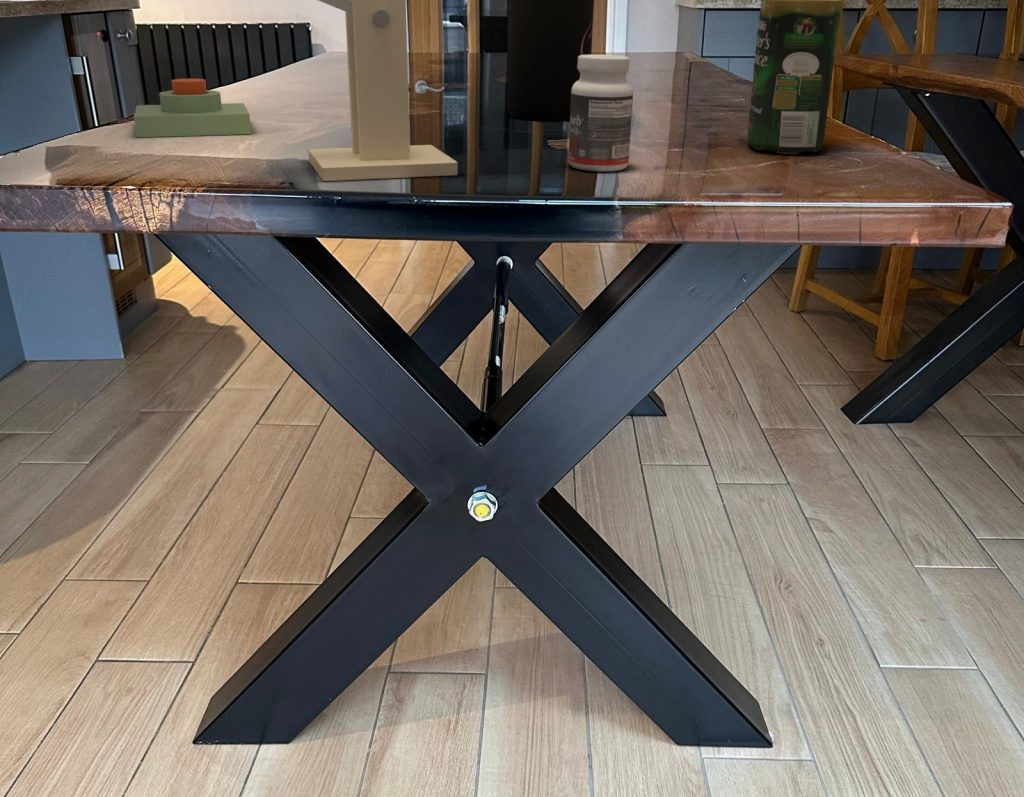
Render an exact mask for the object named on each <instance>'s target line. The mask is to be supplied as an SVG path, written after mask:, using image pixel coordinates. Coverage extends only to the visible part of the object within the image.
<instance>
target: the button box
mask: <svg viewBox="0 0 1024 797" xmlns="http://www.w3.org/2000/svg"><path fill="white" fill-rule="evenodd" d="M206 91H207V94H199V95H175V94H173V90H166V91H160V92H159V101H160V104H137V105H136V108H135V111H134V115H133V121H134V128H135V136H136V138H163V137H164V138H165V137H166V138H167V137H168V138H169V137H198V136H199V137H200V136H202V137H203V136H230V135H252V127H251V126H252V125H251V115H250V112H249V110H248V108H247V107H246V105H245V104H244V102H237V103H236V102H235V103H222V96H221V92H220V91H219V90H211V89H206Z"/></svg>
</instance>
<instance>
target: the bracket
mask: <svg viewBox="0 0 1024 797" xmlns="http://www.w3.org/2000/svg"><path fill="white" fill-rule="evenodd" d="M406 2H407V0H352V10H353V14H350V13H348V12H345V11H344V12H345V14H344V15H345V33H346V52H347V70H348V71H347V73H348V90H349V111H350V129H351V130H350V131H351V147H329V148H327V147H325V148H307V149H308V150H307V153H308V162H309V163H310V165H311V166H312V167H313V168H314V170H315V172H316V174H318V176H319V177H320V179H321V180H322V181H323V182H339V181H340V182H341V181H362V180H363V181H364V180H383V179H385V180H386V179H406V178H429V177H431V178H433V177H454V176H455V177H456V176H458V174H459V170H458V169H459V167H458V165H459V164H458V161H457V160H455V159H453V158H452V157H450V156H449V155H448V154H447V153H444V152H443V151H441V150H440V149H438V148H437V147H436V146H433V145H432V144H418V145H417V144H416V145H413V144H412V145H411V144H410V115H409V114H410V112H409V76H408V75H409V74H408V71H409V70H408V40H407V34H408V33H407V5H406V4H407V3H406Z"/></svg>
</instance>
